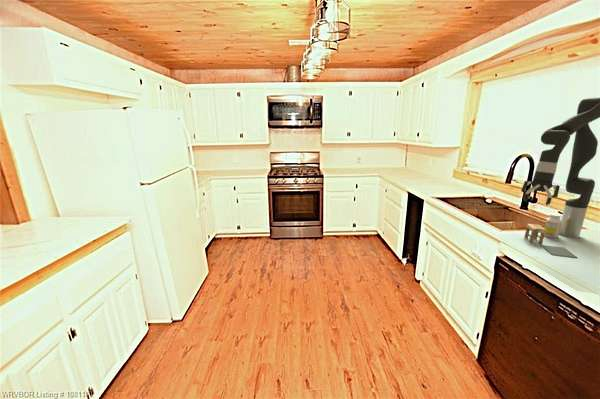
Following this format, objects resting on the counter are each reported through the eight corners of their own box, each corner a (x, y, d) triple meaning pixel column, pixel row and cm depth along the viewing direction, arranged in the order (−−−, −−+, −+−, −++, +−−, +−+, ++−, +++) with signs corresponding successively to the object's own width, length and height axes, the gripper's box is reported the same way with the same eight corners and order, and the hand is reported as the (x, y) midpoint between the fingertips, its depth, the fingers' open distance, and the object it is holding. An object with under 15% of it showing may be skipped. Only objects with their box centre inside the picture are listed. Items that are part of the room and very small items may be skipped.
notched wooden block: (530, 242, 156) (533, 228, 154) (524, 237, 163) (527, 223, 161) (542, 243, 154) (545, 229, 152) (535, 238, 162) (539, 224, 160)
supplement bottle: (550, 233, 168) (555, 212, 165) (561, 238, 162) (566, 216, 159) (539, 233, 168) (544, 212, 165) (549, 238, 162) (554, 216, 159)
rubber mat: (540, 245, 152) (541, 244, 152) (564, 248, 149) (564, 247, 149) (551, 255, 141) (552, 254, 141) (577, 258, 138) (577, 257, 138)
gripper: (561, 173, 143) (552, 204, 146) (526, 168, 150) (517, 199, 153) (565, 174, 137) (555, 207, 140) (528, 169, 144) (519, 201, 147)
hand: (535, 203), depth 147 cm, fingers open, 8 cm apart
